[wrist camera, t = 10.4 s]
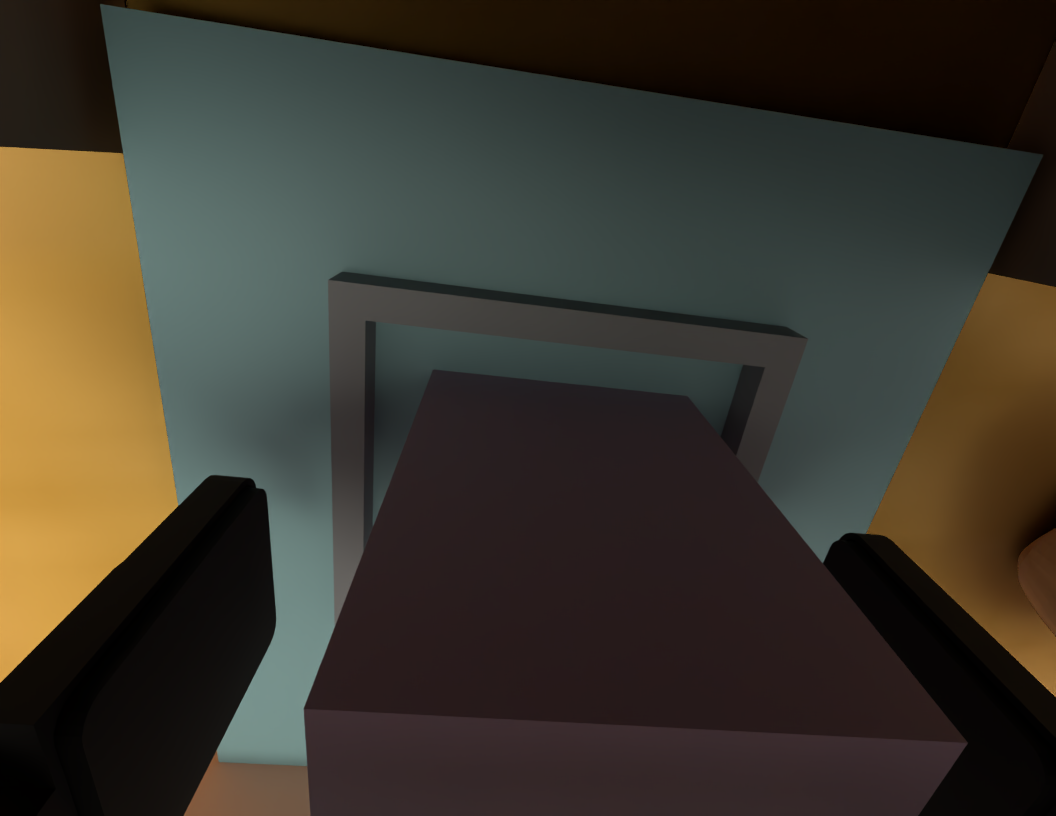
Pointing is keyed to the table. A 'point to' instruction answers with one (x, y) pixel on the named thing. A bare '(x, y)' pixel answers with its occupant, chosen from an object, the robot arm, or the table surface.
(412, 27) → the table surface
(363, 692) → the block
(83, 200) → the table surface
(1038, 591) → the cupcake
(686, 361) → the tray
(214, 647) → the robot arm
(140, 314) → the table surface
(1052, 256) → the cabinet
